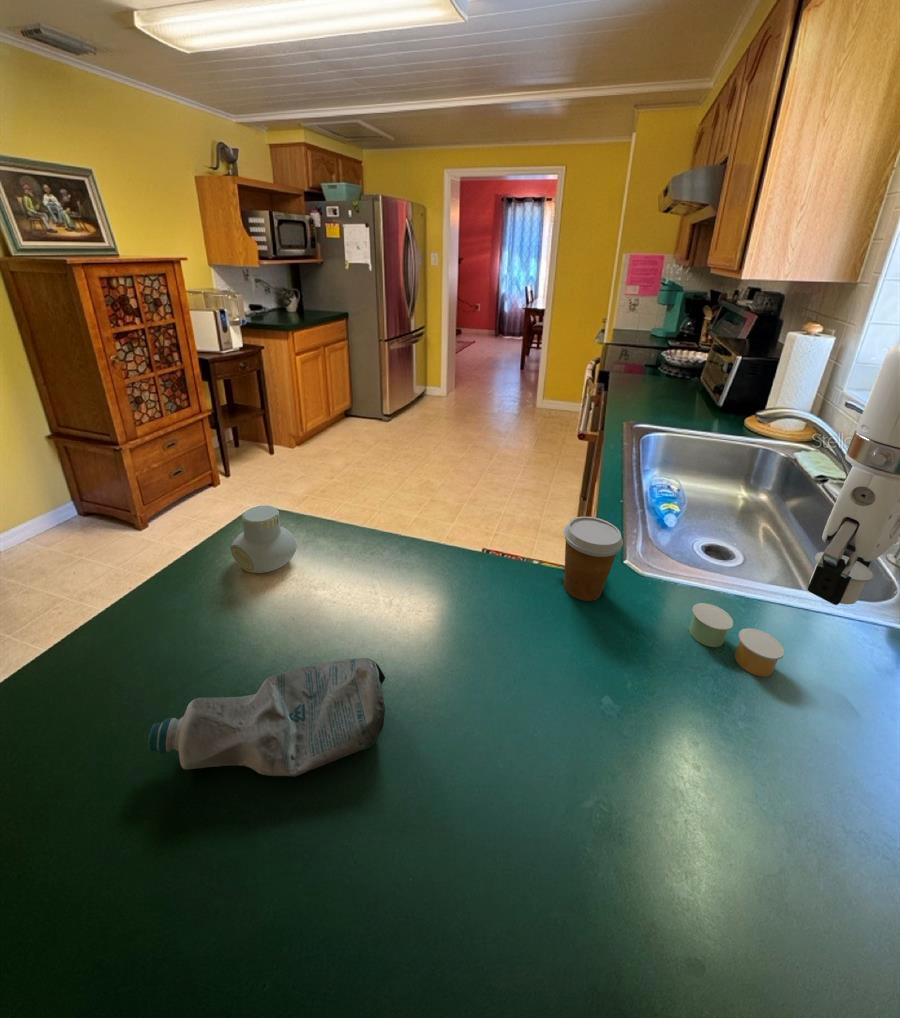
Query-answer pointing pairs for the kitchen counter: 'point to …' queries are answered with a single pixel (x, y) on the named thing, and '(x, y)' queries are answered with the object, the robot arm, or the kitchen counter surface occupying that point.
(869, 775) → the kitchen counter surface
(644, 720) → the kitchen counter surface
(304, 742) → the detergent
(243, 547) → the air freshener
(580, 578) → the disposable coffee cup
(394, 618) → the kitchen counter surface
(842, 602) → the white pod
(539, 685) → the kitchen counter surface
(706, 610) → the cylinder
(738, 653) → the caramel pod
